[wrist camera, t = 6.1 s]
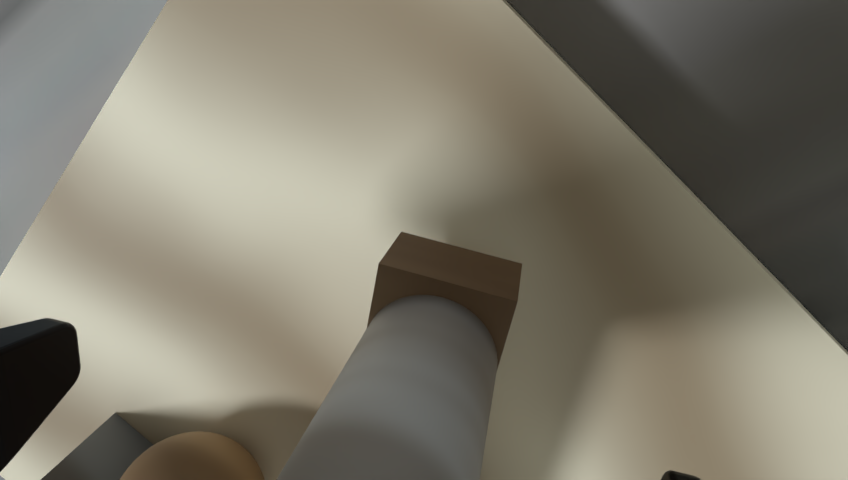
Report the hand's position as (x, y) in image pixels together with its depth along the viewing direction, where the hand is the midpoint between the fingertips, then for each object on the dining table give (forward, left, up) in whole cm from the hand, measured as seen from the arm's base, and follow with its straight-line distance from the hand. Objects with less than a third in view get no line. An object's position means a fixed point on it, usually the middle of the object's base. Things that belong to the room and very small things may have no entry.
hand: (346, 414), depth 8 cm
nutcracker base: (-5, -2, -6) cm, 8 cm away
